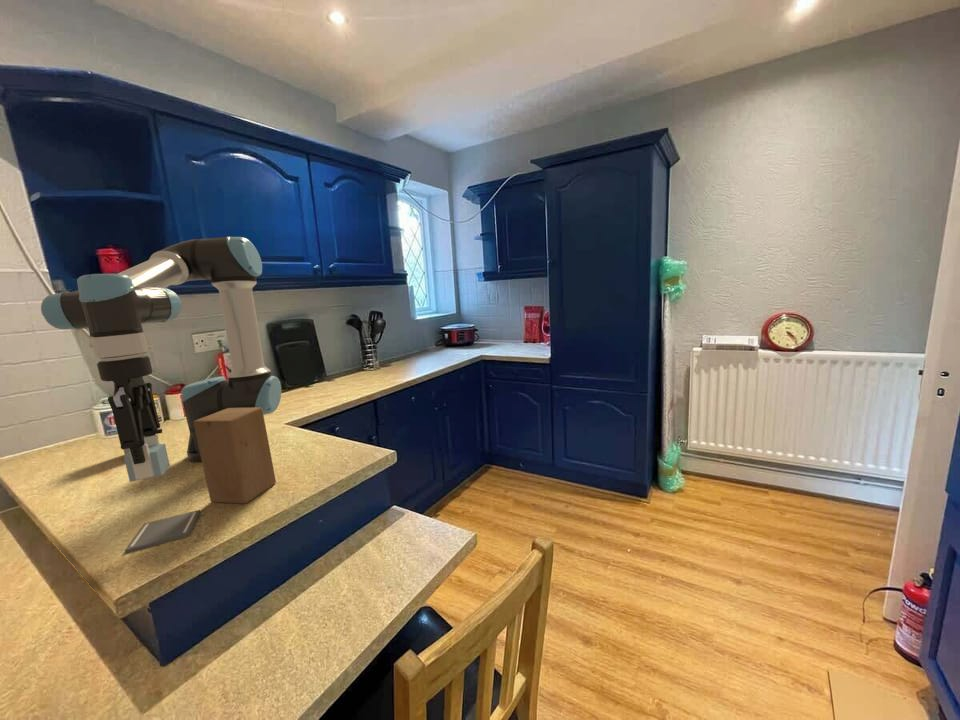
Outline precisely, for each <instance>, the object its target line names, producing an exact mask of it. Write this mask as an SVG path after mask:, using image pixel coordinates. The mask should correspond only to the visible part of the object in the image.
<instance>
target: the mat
mask: <svg viewBox="0 0 960 720" xmlns="http://www.w3.org/2000/svg"><path fill="white" fill-rule="evenodd" d="M201 513H202V511H201V509H197V510H194V511H189V512H185V513H182V514H177V515H173V516H168V517H164V518H161V519H157V520H152V521H147V522H144V523H143V524H142V526H141V527H140V529H139V530H138V531H137V533H136V534H135V536H134V537H133V538H132V539H131V541H130V542H129V544H128V545H127V546H126V547H125V549H124V552H125V554H127V553H131V552H135V551H138V550H141V549H142V550H143V549H146V548H149V547H153V546H158V545H162V544H165V543H168V542H172V541H175V540H180V539H182V538H187V537H189V536H190V534H191V533H192V530H193V529H194V527H195V525H196V522H197V520H198V519H199V517H200V514H201Z"/></svg>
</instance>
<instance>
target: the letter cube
mask: <svg viewBox="0 0 960 720" xmlns="http://www.w3.org/2000/svg"><path fill="white" fill-rule="evenodd" d="M148 448H149V452H150V457H151V461H152V465H153V469H154V474H155V475H154V476H153V477H148V478H144V479H139V480H136V478H135V474H134V469H133V465H132V461H131V457H130V453H129V454H128V455H126V456H125V455H124V456H123V460H124V463H125V468H126V471H127V475H128V481H129V482H130V483H132V482H137V481H141V480H146V479H151V478H155V477H160V476H163V475H164V473H166V472H167V470H168V469H169V468H170V465H171V464H170V460H169V455H168V451H167V447H166V443H160V444H159V445H154V446H148Z"/></svg>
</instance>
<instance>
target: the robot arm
mask: <svg viewBox="0 0 960 720" xmlns="http://www.w3.org/2000/svg"><path fill="white" fill-rule="evenodd" d="M262 274H263V262H262V258H261V255H260V253H259V251H258V249H257V248H256V247H255V245H254V244H253V243H252V241H250V240H249V239H248V238H246V237H243V236H223V237H222V236H221V237H213V238H212V237H211V238H200V239H198V238H194V239H189V240H184V241H181V242H178V243H175V244H172V245H170V246H168V247H165V248H163V249H160V250H157V251H156V252H153V253H152V254H151V255H150V257H149V259H148V260H146V261H144V262H141V263H139V264H137V265H134V266H132V267H130V268H127V269H125V270H122V271H121V272H119V273H91V274H84V275H81V276H79V277H78V278H77V279H76V281H77V288H78V289H77V290H75V291H72V292H69V291H68V292H66V291H62V292H59V293H53V294H50V295H47V296H46V297H45V298H43V300H42V302H41V305H40V311H41V314H42V316H43V317H44V319H45V321H46V322H47V323H48V324H49V325H50V326H51V327H53V328H56V329H58V330H64V331H65V330H76V331H80V330H83V329H88V331H89V334H88V335H89V337H90V341H91V342H90V343H89V345H88V346H89V347H90V348H91V349H93V353H94V357H95V358H96V359H97V360H100V361H98V362H97V363H96V365H97V367H96V368H97V369H98V374H99V377H100V380H101V381H103V382H113V387H114V389H113V395H112V396H108V397H107V401H108V405H109V406H110V409H111V411H112V416H113V419H114V424H115V427H116V432H117V435H118V440H119V443H120V449H121V450H123V449H129V453H130V457H131V461H132V465H133V469H134V474H135V478H136V480H137V481H140V480H139V479H142V480H145V479H144V478H147V479H149V478H148V477H152V478H154V477H153V476H154V475H155V474H154V469H153V465H152V461H151V457H150V452H149V448H148V446H154V445H159V444H161V443H160V440H159V434H163V429H162V428H161V423H160V420H159V416H158V411H157V407H156V403H155V400H154V395H153V387H152V386H153V385H152V383H151V382H145V380H144V377H147V376H150V375H151V374H152V373H153V368H152V361H151V358H150V357H149V356H148V355H146V354H147V353H148V352H149V348H148V344H147V341H146V337H145V332H144V329H143V324H153V323H157V324H158V323H165V322H170V321H173V320H175V319H176V318H177V317H178V316H179V315H180V314H181V311H182V308H183V307H182V306H183V305H182V301H181V299H180V296H179V295H178V294H177V293H176V292H175V291H173V290H171V289H169V288H168V287H169V286H179V285H182V284H184V283H186V282H190V281H191V282H192V281H205V280H206V281H207V280H208V281H209V280H210V282H211V286H213V287H214V288H216V289H217V290H218V292H219V299H220V305H221V310H222V317H223V321H224V327H225V333H226V338H227V339H226V340H227V345H228V351H229V357H230V362H231V368H232V369H231V371H230V373H229V374H228V375H227V378H225V377H226V376H224V375H223V376H215V377H211V378H207V379H206V378H205V379H203V380H199V381H196V382H195V381H194V382H192V383H189V384H187V385H185V386H183V387H182V388H181V390H180V391H181V392H180V393H181V394H180V395H181V403H182V406H183V409H184V414H185V418H186V423H187V427H188V431H189V437H188V444H187V449H186V455H187V456H186V457H187V460H188V461H189V462H194V463H200V462H201V463H202V460H201V455H200V451H199V446H198V442H197V437H196V433H195V428H194V424H193V422H194V421H195V420H198V419H200V418H203V417H206V416H208V415H211V414H214V413H216V412H219V411H222V410H224V409H227V408H252V407H261V408H262V410H263V415H264V416H265V415H271V414H273V413H274V412H275V411H276V410H277V409H278V407H279V406H280V402H281V398H282V385H281V381H280V379H279V378H278V377H277V376H275V375H272V371H271V369H270V368H268V367H267V366H266V365H265V360H264V354H263V347H262V343H261V335H260V331H259V324H258V318H257V310H256V305H255V299H254V293H253V288H254V287H255V286H256V285H257V283H258V282H257V277H259V276H261V275H262ZM144 436H145V437H144Z"/></svg>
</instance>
